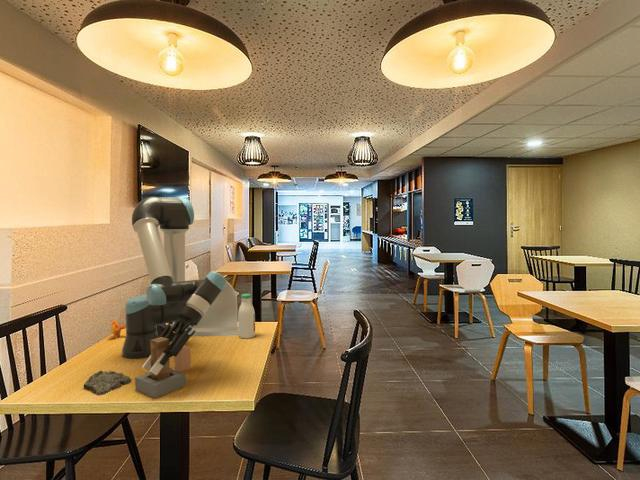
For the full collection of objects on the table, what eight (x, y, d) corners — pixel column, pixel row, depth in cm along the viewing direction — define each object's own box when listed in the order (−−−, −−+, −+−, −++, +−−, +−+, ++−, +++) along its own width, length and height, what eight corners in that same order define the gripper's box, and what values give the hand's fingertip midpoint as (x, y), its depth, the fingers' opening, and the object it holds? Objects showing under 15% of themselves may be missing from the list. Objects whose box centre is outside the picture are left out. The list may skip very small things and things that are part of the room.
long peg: (151, 382, 126) (150, 340, 125) (162, 378, 129) (161, 336, 128) (158, 385, 123) (157, 342, 123) (169, 381, 127) (168, 338, 126)
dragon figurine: (116, 317, 187) (169, 303, 191) (123, 341, 188) (175, 326, 192) (108, 323, 177) (164, 308, 180) (116, 348, 178) (171, 332, 181)
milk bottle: (251, 339, 178) (250, 296, 177) (235, 338, 179) (235, 295, 178) (257, 334, 185) (257, 293, 184) (242, 333, 187) (241, 292, 186)
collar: (135, 389, 125) (135, 377, 125) (166, 378, 134) (165, 366, 134) (155, 398, 118) (154, 385, 118) (185, 385, 127) (185, 373, 127)
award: (242, 330, 193) (241, 275, 192) (240, 335, 184) (239, 277, 183) (185, 331, 191) (183, 276, 190) (180, 337, 182) (178, 279, 181)
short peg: (174, 369, 142) (174, 348, 141) (184, 366, 145) (183, 345, 145) (181, 371, 139) (180, 350, 139) (190, 368, 143) (190, 347, 142)
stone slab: (113, 373, 140) (112, 365, 140) (137, 384, 130) (136, 375, 130) (75, 385, 130) (74, 376, 130) (98, 398, 120) (97, 388, 120)
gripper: (215, 320, 131) (171, 383, 119) (187, 313, 143) (144, 370, 131) (201, 307, 127) (154, 372, 115) (173, 301, 138) (128, 359, 126)
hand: (149, 371), depth 123 cm, fingers closed on long peg, 4 cm apart
